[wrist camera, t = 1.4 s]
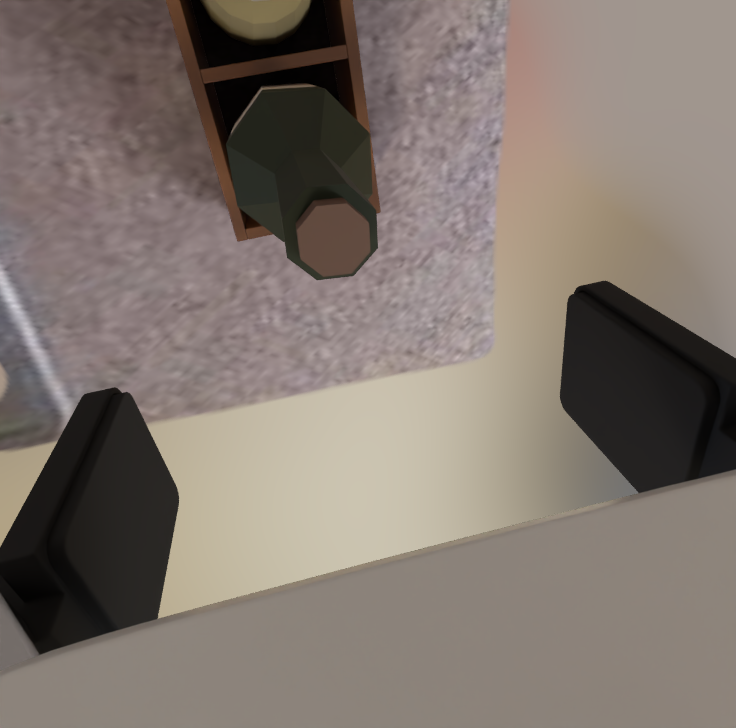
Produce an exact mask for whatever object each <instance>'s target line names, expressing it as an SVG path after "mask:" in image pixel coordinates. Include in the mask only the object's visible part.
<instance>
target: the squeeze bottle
mask: <svg viewBox="0 0 736 728" xmlns="http://www.w3.org/2000/svg"><path fill="white" fill-rule="evenodd" d="M200 1H201V3H202V4H203V6H204V8H205V10H206V12H207V14H208V15H209V17H210V19H211V20H212V21H213V22H214V23H215V24H217V25H218V26H219V27H220V28H221V29H222V30H223V31H224V32H225V33H226V34H227V35H229V36H230V37H231V38H233V39H236V40H239V41H241V42H244V43H246V44H249V45H252V46H264V45H276V44H278V43H280V42H281V41H283V40H285V39H286V38H288V37H290V36H291V35H293V34H294V33H296V31H297V30H298V28H299V27H300V25H301V24H302V22H303V21H304V19H305V18H306V16H307V15H308V14H309V11H310V7H311V2H312V0H200Z"/></svg>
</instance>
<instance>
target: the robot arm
mask: <svg viewBox="0 0 736 728" xmlns="http://www.w3.org/2000/svg"><path fill="white" fill-rule="evenodd" d="M560 400H561V403H562V406H563V408H564V410H565V411H566V412H567V413H568V415H569V416H570V417H571V418H572V419H573V420H574V421H575V422H576V424H578V426H579V427H580V428H581V429H582V430H583V431H584V432H585V433H586V435H587V436H588V437H589V438H590V439H591V440H592V441H593V442H594V444H595V445H596V446H597V447H598V448H599V449H600V450H601V451H602V452H603V454H604V455H605V456H606V457H607V458H608V459H609V460H610V461H611V462H612V464H613V465H614V466H615V467H616V468H617V469H618V470H619V471H620V472H621V473H622V475H623V476H624V477H625V478H626V479H627V480H628V481H629V483H631V485H632V486H633V487H634V488H635V489H636V490H637V491H638V494H634V495H630V496H626V497H622V498H619V499H614V500H610V501H606V502H602V503H598V504H594V505H591V506H587V507H583V508H579V509H575V510H571V511H567V512H563V513H559V514H555V515H551V516H547V517H543V518H539V519H535V520H531V521H527V522H523V523H520V524H516V525H512V526H508V527H504V528H501V529H497V530H493V531H489V532H485V533H481V534H477V535H473V536H469V537H465V538H462V539H458V540H454V541H450V542H446V543H442V544H438V545H434V546H430V547H427V548H423V549H419V550H415V551H411V552H407V553H404V554H400V555H396V556H392V557H388V558H384V559H380V560H376V561H373V562H369V563H365V564H361V565H357V566H354V567H350V568H346V569H342V570H338V571H335V572H331V573H327V574H323V575H320V576H316V577H312V578H308V579H305V580H301V581H297V582H293V583H289V584H285V585H282V586H278V587H274V588H270V589H267V590H263V591H259V592H255V593H251V594H248V595H244V596H240V597H236V598H233V599H229V600H225V601H222V602H218V603H214V604H210V605H206V606H203V607H199V608H195V609H192V610H188V611H185V612H181V613H177V614H174V615H170V616H167V617H163V618H159V619H157V618H158V613H159V608H160V602H161V597H162V591H163V586H164V581H165V576H166V570H167V564H168V559H169V554H170V548H171V543H172V538H173V532H174V527H175V521H176V516H177V511H178V505H179V495H178V491H177V487H176V485H175V483H174V481H173V478H172V477H171V474H170V472H169V470H168V468H167V466H166V464H165V462H164V460H163V458H162V456H161V454H160V452H159V450H158V448H157V446H156V444H155V442H154V440H153V438H152V436H151V434H150V432H149V430H148V427H147V425H146V423H145V421H144V419H143V417H142V415H141V413H140V411H139V409H138V407H137V405H136V403H135V401H134V399H133V397H132V396H131V394H130V393H128V392H125V393H121V391H120V390H119V389H117V388H115V387H114V388H110V389H105V390H101V391H96V392H91V393H87V394H84V395H83V396H82V398H81V400H80V402H79V403H78V405H77V407H76V409H75V411H74V413H73V414H72V416H71V418H70V420H69V422H68V424H67V426H66V427H65V429H64V431H63V433H62V435H61V437H60V438H59V440H58V442H57V444H56V446H55V448H54V450H53V451H52V453H51V455H50V457H49V459H48V460H47V463H46V464H45V466H44V468H43V470H42V472H41V473H40V475H39V477H38V479H37V481H36V483H35V484H34V486H33V488H32V490H31V492H30V494H29V496H28V497H27V499H26V501H25V503H24V505H23V506H22V508H21V510H20V512H19V514H18V516H17V517H16V519H15V521H14V523H13V525H12V527H11V529H10V531H9V532H8V534H7V536H6V538H5V540H4V541H3V543H2V545H1V547H0V728H736V358H734V357H733V356H731V355H729V354H728V353H726V352H724V351H723V350H721V349H719V348H718V347H716V346H714V345H712V344H711V343H709V342H708V341H706V340H704V339H703V338H701V337H699V336H698V335H696V334H694V333H693V332H691V331H689V330H688V329H686V328H685V327H683V326H681V325H679V324H678V323H676V322H675V321H673V320H671V319H670V318H668V317H666V316H665V315H663V314H661V313H660V312H658V311H656V310H655V309H653V308H651V307H649V306H648V305H646V304H645V303H643V302H641V301H640V300H638V299H636V298H635V297H633V296H631V295H630V294H628V293H627V292H625V291H623V290H621V289H620V288H618V287H617V286H615V285H613V284H612V283H610V282H608V281H601V282H596V283H592V284H588V285H583V286H579V287H577V288H576V290H575V292H574V294H572V295H571V296H569V298H568V302H567V314H566V328H565V340H564V352H563V364H562V377H561V389H560Z"/></svg>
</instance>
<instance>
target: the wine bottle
mask: <svg viewBox="0 0 736 728" xmlns="http://www.w3.org/2000/svg"><path fill="white" fill-rule="evenodd" d="M226 147H227V153H228V158H229V164H230V169H231V175H232V180H233V186H234V191H235V196H236V202H237V207H239V208H240V209H241V210H243V211H244V212H245V213H246V214H248V215H249V216H250V217H252V218H253V219H254V220H256V221H257V222H258V223H260V224H261V225H262V226H263V227H265V228H266V229H267V230H269V231H270V232H271V233H273V234H274V235H275V236H276V237H278V238H279V239H280V240H282V241H283V242H285V246H286V253H287V258H288V259H290V260H291V261H292V262H294V263H295V264H296V265H298V266H299V267H300V268H302V269H303V270H304V271H306V272H307V273H308V274H310V275H311V276H312V277H314V278H315V279H316V280H323V279H331V278H340V277H348V276H354V275H355V274H356V272H357V271H358V270H359V269H360V268H361V267H362V265H363V264H364V263H365V262H366V261H367V260H368V259H369V257H370V256H371V255H372V254H373V253H374V252H375V251H376V249H377V248H378V240H377V215H376V209H375V208H374V207H373V205H372V204H371V203H370V202H369V201H368V199H369V198H370V196H371V195H372V194H373V190H372V166H371V143H370V133H369V132H368V131H367V130H366V129H365V128H364V127H363V126H362V125H361V124H360V123H359V122H358V121H357V120H356V119H355V118H354V117H353V116H352V115H351V114H350V113H349V112H348V111H347V110H346V109H345V108H344V107H343V106H342V105H341V104H340V103H339V102H338V101H337V100H336V99H335V98H334V97H333V96H332V95H331V94H330V93H329V92H328V91H327V90H326V89H325V88H321V87H318V86H314V85H311V84H307V83H303V82H291V83H275V84H261V85H260V86H259V88H258V89H257V91H256V92H255V93H254V95H253V96H252V98H251V99H250V101H249V102H248V103H247V105H246V106H245V108H244V109H243V111H242V112H241V113H240V115H239V116H238V118H237V120H236V122H235V124H234V127H233V129H232V131H231V134H230V136H229V138H228V141H227V143H226Z"/></svg>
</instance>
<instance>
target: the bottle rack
mask: <svg viewBox="0 0 736 728" xmlns="http://www.w3.org/2000/svg"><path fill="white" fill-rule="evenodd" d="M323 2H324V8H325V14H326V21H327V27H328V33H329V40H330V46H331V47H327V48H321V49H315V50H310V51H304V52H298V53H292V54H287V55H281V56H275V57H269V58H263V59H258V60H252V61H246V62H240V63H235V64H229V65H223V66H217V67H212V68H209V64H208V61H207V57H206V54H205V50H204V46H203V43H202V39H201V35H200V32H199V28H198V24H197V21H196V17H195V13H194V10H193V6H192V3H191V0H166V3H167V6H168V9H169V13H170V16H171V20H172V23H173V26H174V30H175V33H176V36H177V40H178V43H179V46H180V50H181V53H182V57H183V60H184V63H185V67H186V70H187V73H188V77H189V80H190V84H191V87H192V90H193V94H194V97H195V100H196V104H197V107H198V111H199V114H200V117H201V121H202V124H203V127H204V131H205V134H206V137H207V141H208V144H209V148H210V151H211V154H212V158H213V161H214V164H215V168H216V171H217V175H218V178H219V181H220V185H221V188H222V191H223V195H224V198H225V202H226V205H227V208H228V212H229V215H230V218H231V222H232V225H233V228H234V232H235V235H236V239H237V241H243V240H247V239H252V238H257V237H262V236H267V235H272V234H273V233H271V232H270V231H269V230H267V229H266V228H265V227H263V226H262V225H261V224H260V223H258V222H257V221H256V220H254V219H253V218H252V217H250V216H249V215H248V214H246V213H245V212H244V211H243V210H241V209H240V208H239V207H237V202H236V196H235V191H234V186H233V180H232V175H231V169H230V164H229V158H228V153H227V147H226V143H227V141H228V138H229V137H228V134H227V130H226V126H225V123H224V119H223V115H222V112H221V108H220V104H219V101H218V97H217V94H216V90H215V86H214V83H213V82H217V81H223V80H229V79H235V78H240V77H246V76H252V75H257V74H263V73H269V72H274V71H280V70H286V69H291V68H297V67H303V66H308V65H314V64H320V63H325V62H331V61H333V65H334V71H335V77H336V84H337V90H338V96H339V103H340V104H341V105H342V106H343V107H344V108H345V109H346V110H347V111H348V112H349V113H350V114H351V115H352V116H353V117H354V118H355V119H356V120H357V121H358V122H359V123H360V124H361V125H362V126H363V127H364V128H365V129H366V130H367V131H368V132H369V133H370V128H369V121H368V113H367V106H366V98H365V91H364V83H363V75H362V68H361V60H360V53H359V45H358V38H357V30H356V23H355V15H354V8H353V0H323ZM370 143H371V136H370ZM371 166H372V190H373V194H372V195H371V196H370V198H369V199H368V201H369V202H370V203H371V204H372V205H373V207H374V208H375V209H376V213H380V212H381V211H380V204H379V196H378V189H377V181H376V174H375V166H374V158H373V151H372V143H371Z"/></svg>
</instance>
